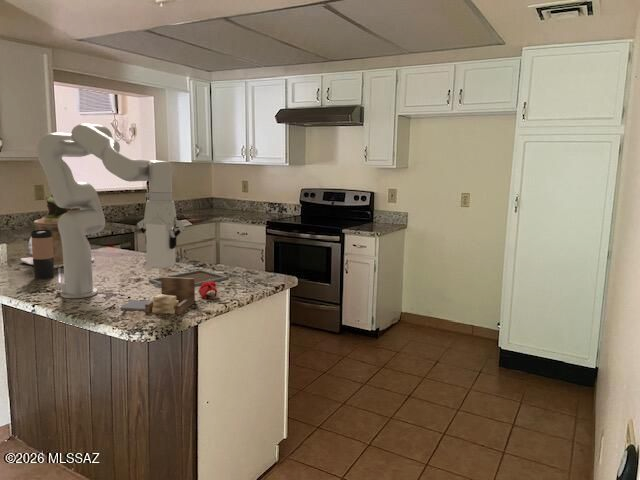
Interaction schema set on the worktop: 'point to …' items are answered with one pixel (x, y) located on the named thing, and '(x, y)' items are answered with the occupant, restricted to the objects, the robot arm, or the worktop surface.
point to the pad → (135, 305)
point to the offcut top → (165, 299)
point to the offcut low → (163, 310)
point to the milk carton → (159, 245)
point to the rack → (177, 292)
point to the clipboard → (198, 276)
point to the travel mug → (42, 254)
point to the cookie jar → (52, 224)
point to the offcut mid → (165, 305)
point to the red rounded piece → (207, 288)
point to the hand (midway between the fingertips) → (161, 247)
